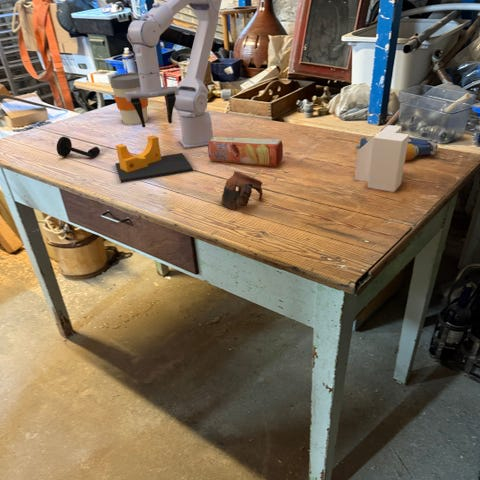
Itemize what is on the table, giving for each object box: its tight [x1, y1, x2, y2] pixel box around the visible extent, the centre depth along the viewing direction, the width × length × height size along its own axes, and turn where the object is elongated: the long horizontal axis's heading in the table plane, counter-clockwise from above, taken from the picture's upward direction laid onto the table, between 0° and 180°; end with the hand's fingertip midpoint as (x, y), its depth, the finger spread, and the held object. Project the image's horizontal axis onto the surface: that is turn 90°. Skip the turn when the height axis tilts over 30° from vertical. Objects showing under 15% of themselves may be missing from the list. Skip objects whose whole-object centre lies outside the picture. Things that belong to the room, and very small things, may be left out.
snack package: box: [207, 136, 284, 167], centre depth 133 cm, size 21×7×7 cm, turn 68°
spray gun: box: [355, 135, 439, 162], centre depth 133 cm, size 21×4×15 cm
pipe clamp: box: [115, 134, 162, 172], centre depth 133 cm, size 12×4×6 cm, turn 129°
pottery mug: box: [221, 170, 263, 211], centre depth 111 cm, size 12×10×8 cm
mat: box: [115, 152, 194, 183], centre depth 135 cm, size 20×14×1 cm
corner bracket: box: [354, 124, 410, 193], centre depth 116 cm, size 11×11×12 cm
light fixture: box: [56, 136, 101, 159], centre depth 147 cm, size 6×11×13 cm
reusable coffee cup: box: [109, 72, 149, 126], centre depth 170 cm, size 13×13×15 cm
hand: (157, 124), depth 136 cm, fingers open, 7 cm apart
